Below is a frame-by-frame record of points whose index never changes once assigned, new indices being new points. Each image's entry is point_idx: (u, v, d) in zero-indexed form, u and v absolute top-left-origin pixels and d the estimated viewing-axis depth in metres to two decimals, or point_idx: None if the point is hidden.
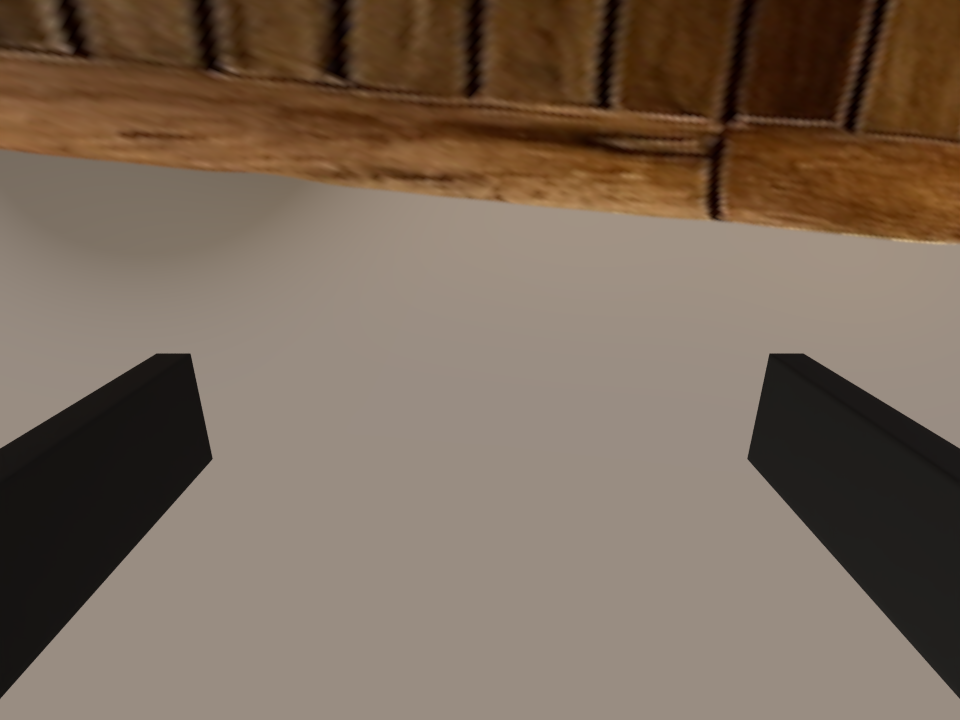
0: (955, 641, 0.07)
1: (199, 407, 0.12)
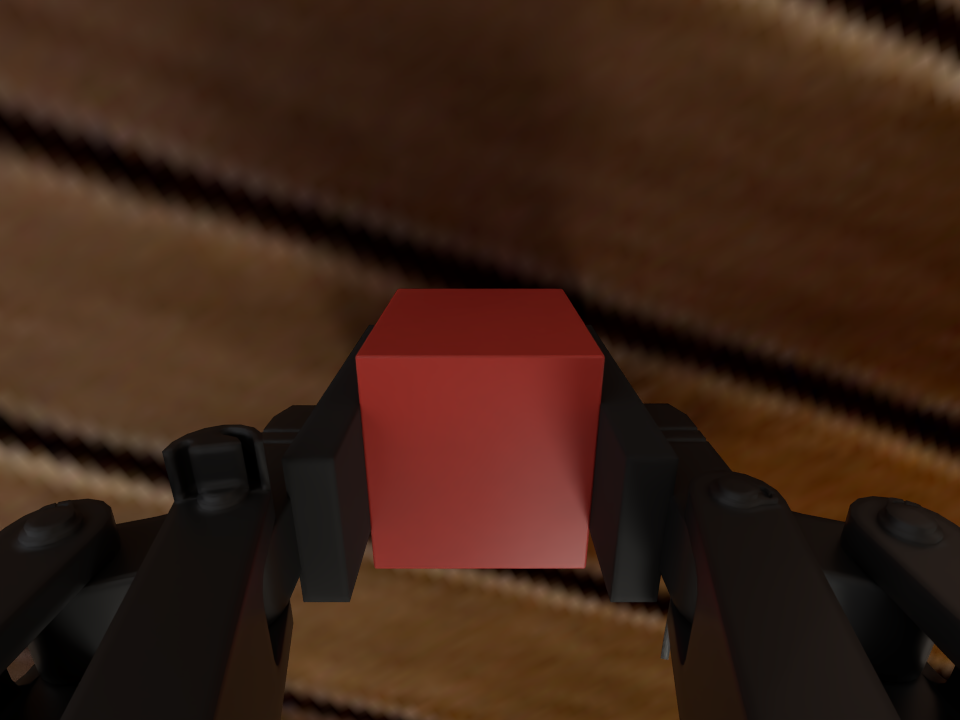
0: (602, 535, 0.09)
1: None
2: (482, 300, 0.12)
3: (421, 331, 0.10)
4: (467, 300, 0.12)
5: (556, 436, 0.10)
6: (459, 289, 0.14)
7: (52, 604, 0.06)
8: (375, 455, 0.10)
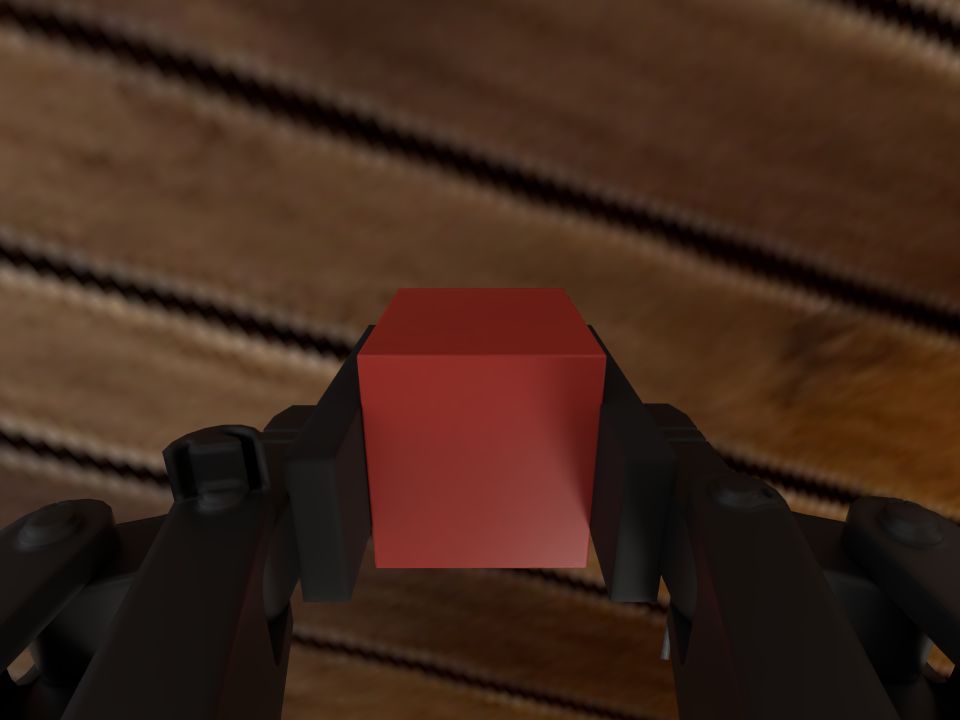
0: (602, 535, 0.09)
1: None
2: (483, 300, 0.12)
3: (423, 331, 0.10)
4: (468, 300, 0.12)
5: (558, 436, 0.10)
6: (460, 289, 0.14)
7: (52, 604, 0.06)
8: (377, 455, 0.10)
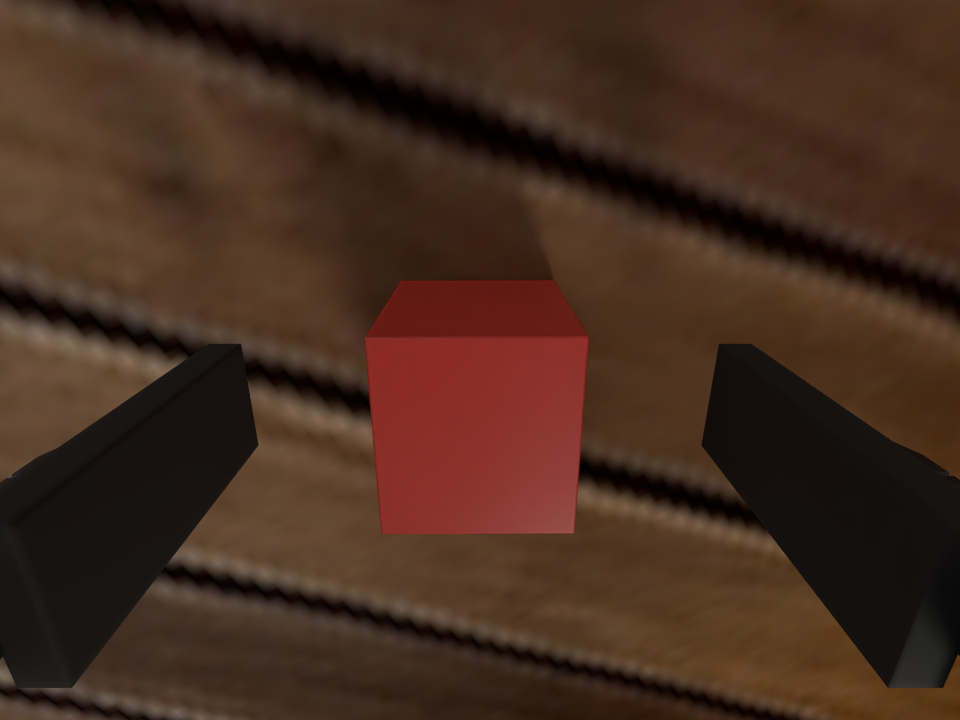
0: (860, 603, 0.08)
1: (247, 395, 0.13)
2: (480, 291, 0.13)
3: (423, 317, 0.11)
4: (465, 290, 0.13)
5: (545, 410, 0.11)
6: (458, 281, 0.15)
7: None
8: (383, 428, 0.11)
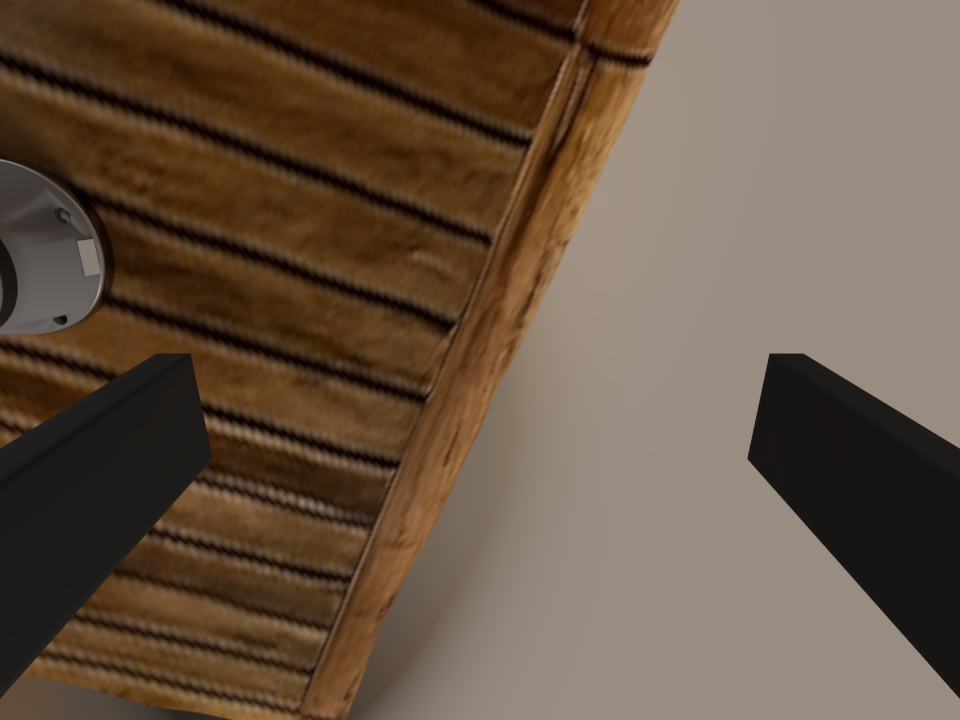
0: (955, 641, 0.07)
1: (199, 407, 0.12)
2: None
3: None
4: None
5: None
6: None
7: None
8: None
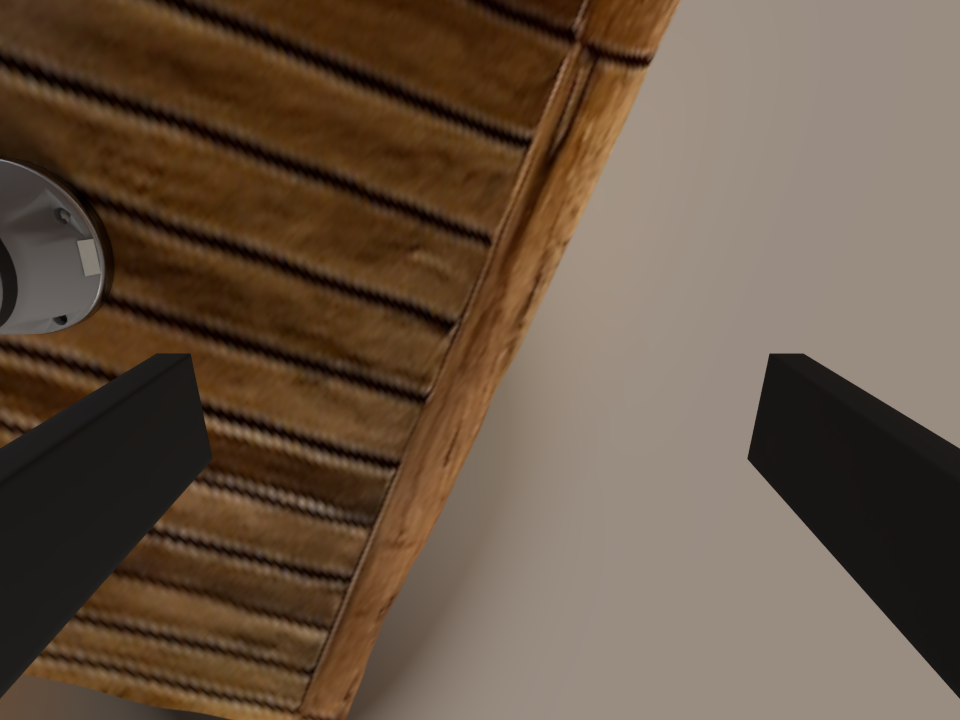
0: (955, 641, 0.07)
1: (199, 407, 0.12)
2: None
3: None
4: None
5: None
6: None
7: None
8: None
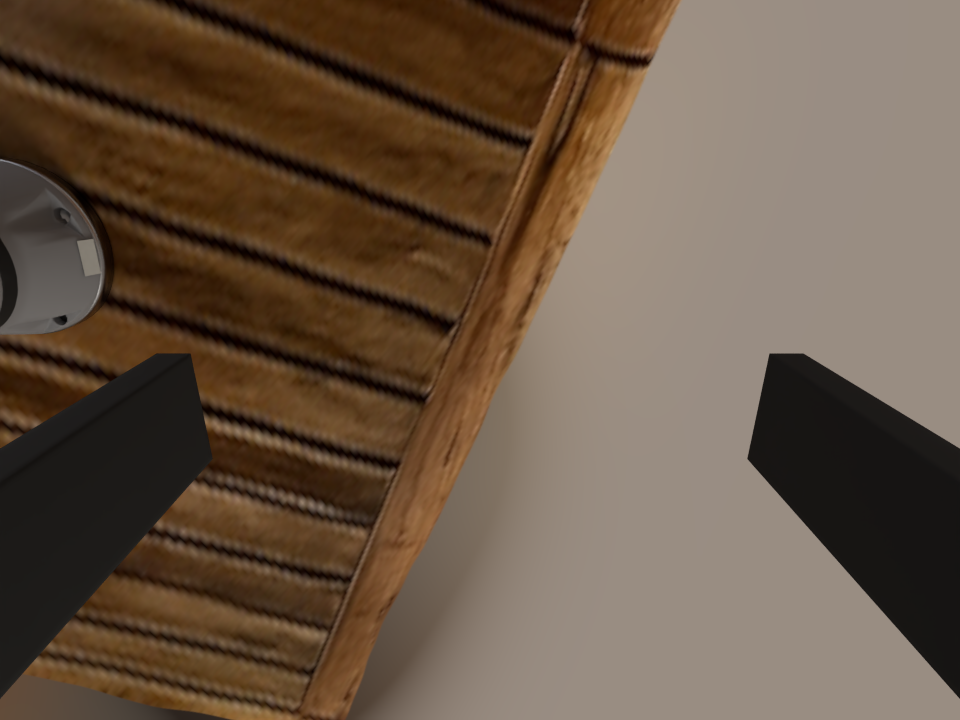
0: (955, 641, 0.07)
1: (199, 407, 0.12)
2: None
3: None
4: None
5: None
6: None
7: None
8: None
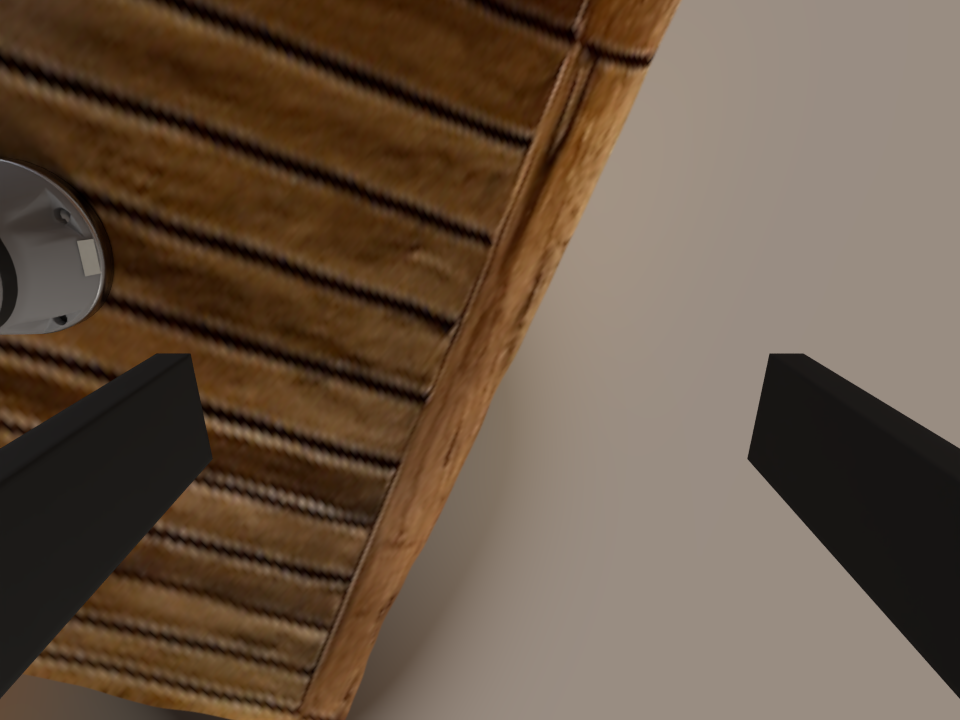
0: (955, 641, 0.07)
1: (199, 407, 0.12)
2: None
3: None
4: None
5: None
6: None
7: None
8: None
